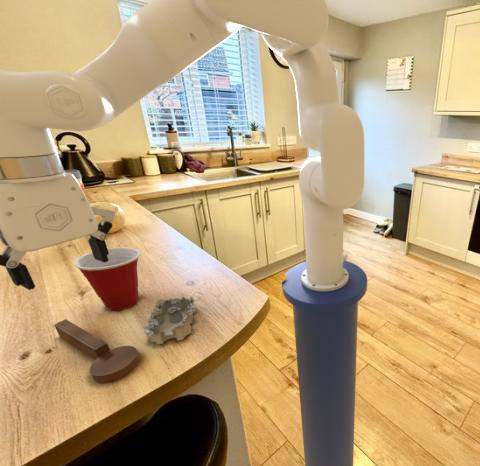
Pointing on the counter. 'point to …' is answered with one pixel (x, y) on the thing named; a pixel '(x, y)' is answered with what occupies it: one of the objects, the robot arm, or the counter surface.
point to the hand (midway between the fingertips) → (68, 272)
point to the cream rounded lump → (118, 217)
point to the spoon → (100, 353)
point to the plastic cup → (113, 276)
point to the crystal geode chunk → (170, 320)
